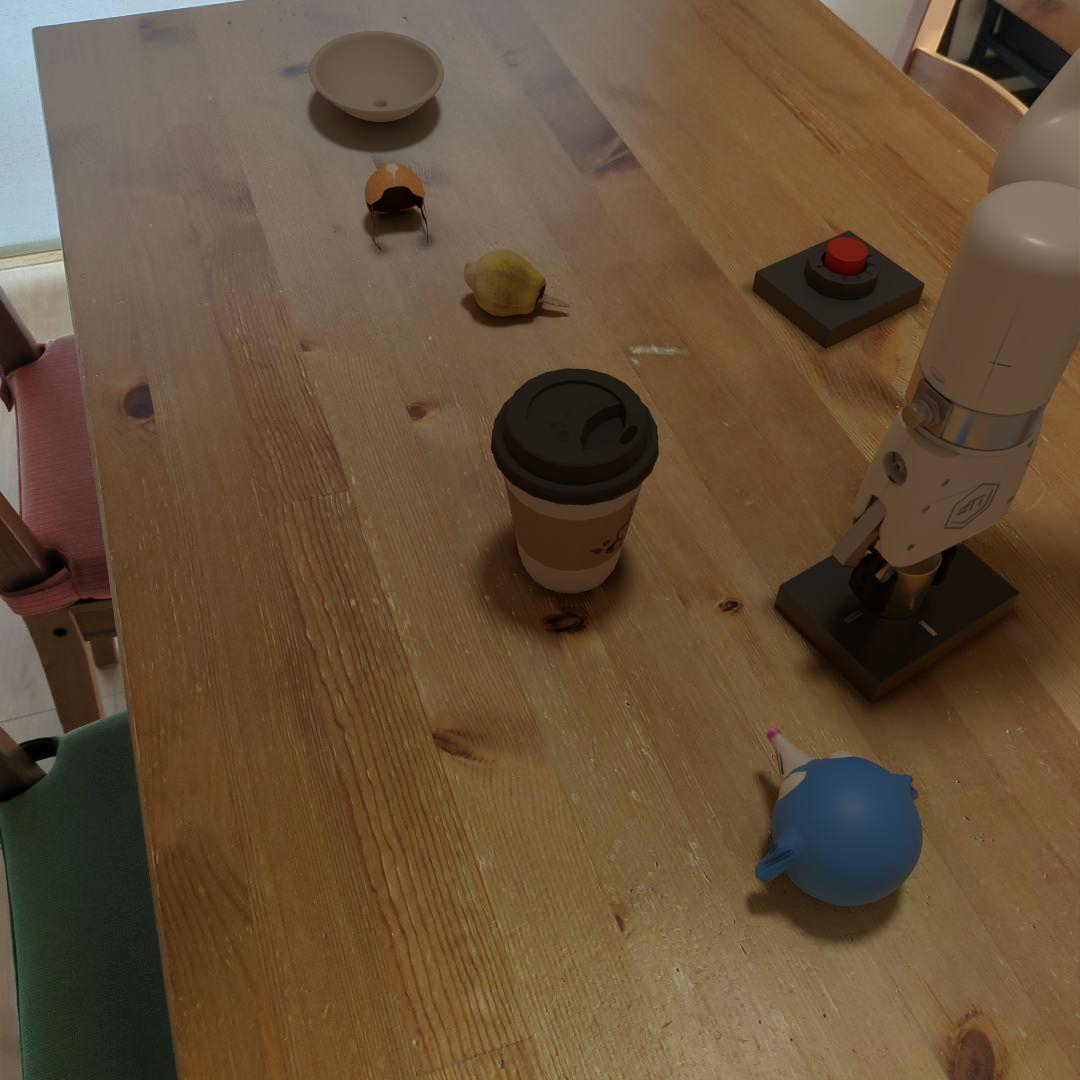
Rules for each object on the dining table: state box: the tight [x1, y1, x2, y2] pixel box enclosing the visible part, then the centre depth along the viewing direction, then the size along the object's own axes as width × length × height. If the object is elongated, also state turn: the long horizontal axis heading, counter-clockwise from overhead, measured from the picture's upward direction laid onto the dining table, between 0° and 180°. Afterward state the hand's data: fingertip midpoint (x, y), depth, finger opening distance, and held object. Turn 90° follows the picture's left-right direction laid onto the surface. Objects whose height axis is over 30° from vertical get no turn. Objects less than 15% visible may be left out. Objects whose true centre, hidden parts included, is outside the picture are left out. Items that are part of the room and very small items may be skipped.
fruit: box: [463, 249, 571, 318], centre depth 101 cm, size 6×6×10 cm
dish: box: [308, 30, 445, 123], centre depth 123 cm, size 18×14×5 cm
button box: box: [751, 229, 926, 349], centre depth 103 cm, size 12×10×4 cm
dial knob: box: [865, 540, 942, 619], centre depth 77 cm, size 4×4×5 cm
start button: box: [824, 237, 868, 276], centre depth 101 cm, size 4×4×2 cm
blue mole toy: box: [754, 727, 924, 907], centre depth 67 cm, size 12×12×8 cm
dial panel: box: [774, 543, 1020, 703], centre depth 81 cm, size 14×10×3 cm
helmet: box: [364, 163, 429, 250], centre depth 109 cm, size 6×7×8 cm
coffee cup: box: [490, 367, 660, 594], centre depth 79 cm, size 11×11×15 cm
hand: (894, 583), depth 78 cm, fingers closed on dial knob, 4 cm apart
